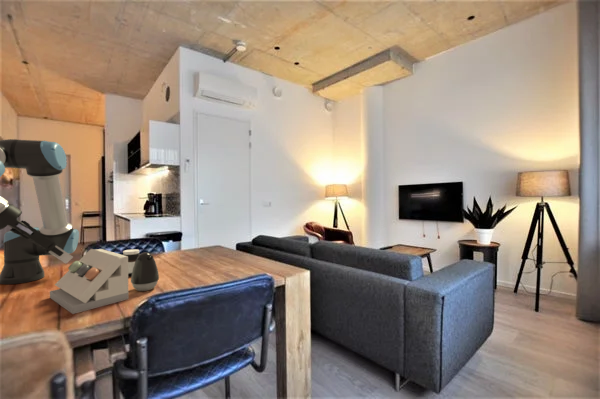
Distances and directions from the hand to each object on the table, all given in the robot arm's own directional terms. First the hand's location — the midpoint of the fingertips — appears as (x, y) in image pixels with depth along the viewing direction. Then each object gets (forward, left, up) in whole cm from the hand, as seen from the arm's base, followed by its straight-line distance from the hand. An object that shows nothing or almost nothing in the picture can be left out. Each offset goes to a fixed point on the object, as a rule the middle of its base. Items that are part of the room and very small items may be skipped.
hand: (69, 259), depth 97 cm
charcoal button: (-9, +7, -9) cm, 14 cm away
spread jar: (-32, +31, -18) cm, 48 cm away
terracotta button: (-1, +7, -9) cm, 11 cm away
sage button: (-18, +7, -9) cm, 21 cm away
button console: (-9, +9, -17) cm, 22 cm away
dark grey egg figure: (-3, +26, -18) cm, 32 cm away
